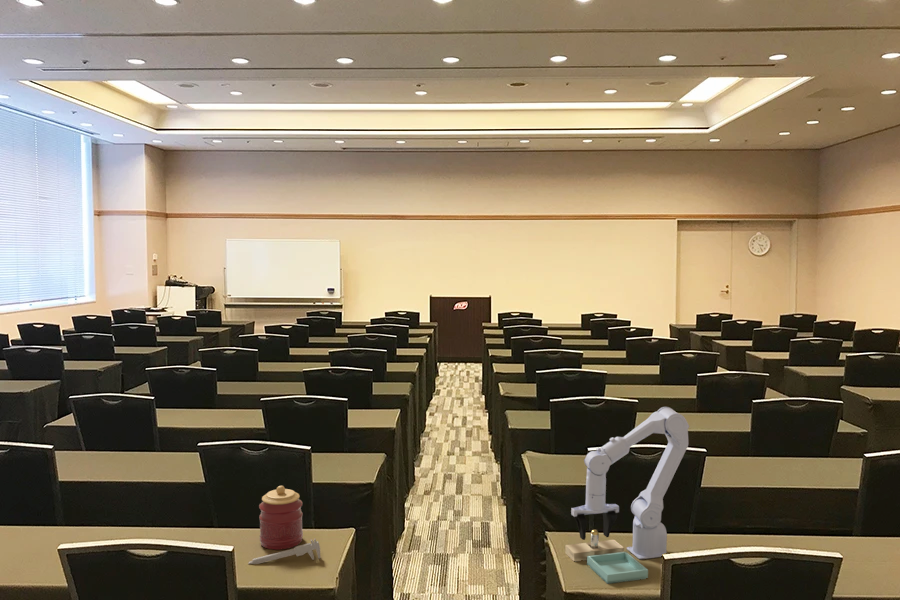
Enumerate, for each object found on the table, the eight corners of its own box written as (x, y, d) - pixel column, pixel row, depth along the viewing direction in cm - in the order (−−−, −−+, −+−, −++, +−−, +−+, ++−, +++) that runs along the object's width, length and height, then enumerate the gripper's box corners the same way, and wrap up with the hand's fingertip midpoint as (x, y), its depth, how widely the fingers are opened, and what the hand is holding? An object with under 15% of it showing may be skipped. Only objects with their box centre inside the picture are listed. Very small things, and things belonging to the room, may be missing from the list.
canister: (255, 550, 224) (254, 493, 222) (265, 533, 237) (264, 479, 235) (298, 550, 224) (298, 493, 223) (306, 533, 237) (305, 479, 236)
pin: (596, 552, 224) (596, 528, 223) (599, 555, 222) (599, 531, 221) (589, 553, 223) (589, 528, 223) (592, 556, 221) (593, 531, 220)
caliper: (322, 556, 219) (317, 537, 219) (322, 558, 218) (317, 538, 218) (251, 575, 216) (246, 556, 215) (251, 577, 215) (246, 557, 214)
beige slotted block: (613, 547, 227) (614, 539, 227) (623, 555, 222) (623, 547, 222) (565, 553, 223) (565, 545, 223) (573, 561, 217) (574, 553, 217)
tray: (625, 559, 219) (625, 551, 219) (647, 578, 207) (648, 569, 207) (586, 564, 216) (587, 556, 215) (607, 583, 204) (607, 575, 203)
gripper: (611, 486, 227) (610, 529, 228) (567, 490, 223) (566, 534, 224) (622, 494, 220) (621, 538, 221) (577, 498, 216) (576, 543, 217)
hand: (594, 537), depth 222 cm, fingers open, 7 cm apart
